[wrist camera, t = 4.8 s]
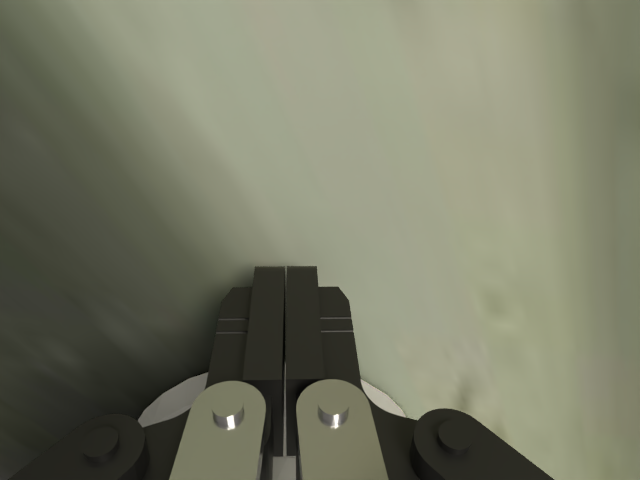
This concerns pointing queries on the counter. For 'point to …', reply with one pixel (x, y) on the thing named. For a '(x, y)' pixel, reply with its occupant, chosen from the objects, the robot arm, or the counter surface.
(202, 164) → the counter surface
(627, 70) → the counter surface
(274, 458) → the mechanical component
